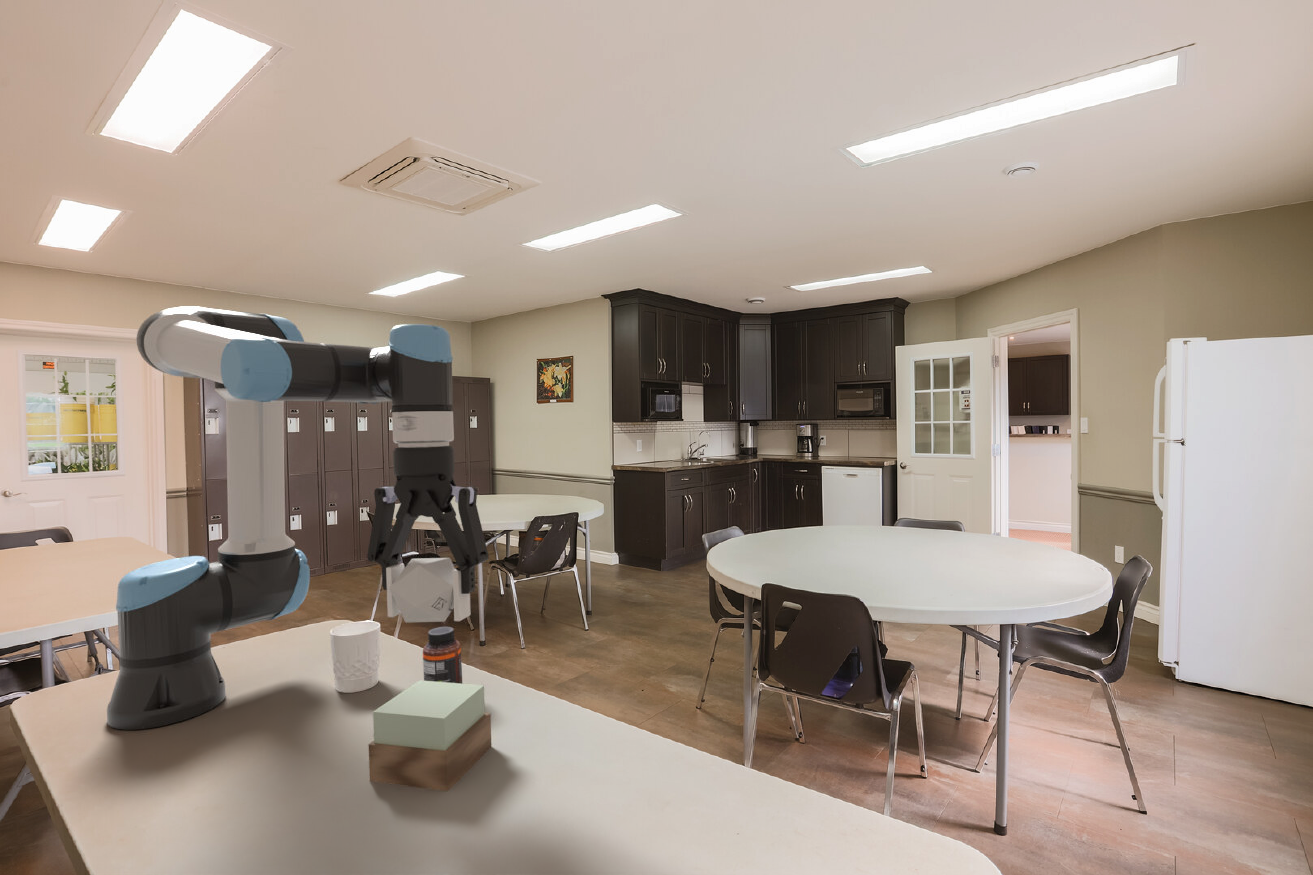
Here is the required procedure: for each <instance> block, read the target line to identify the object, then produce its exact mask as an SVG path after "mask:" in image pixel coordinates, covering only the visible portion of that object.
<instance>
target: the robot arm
mask: <svg viewBox="0 0 1313 875" xmlns="http://www.w3.org/2000/svg"><path fill="white" fill-rule="evenodd" d="M388 338H389V339H388V343H387V344H388V345H387V346H378V347H377V346H376V347H375V346H374V347H372V346H371V347H370V346H360V345H359V346H357V345H346V344H345V345H344V344H335V343H334V344H333V343H317V342H310V341H309V342H308V341H305V339H304V337H303V335H302V333H301V331H300V330H299V329H298V327H297V325H295V323H294V322H292V321H291V320H290V319H288V318H285V317H281V316H276V315H275V316H274V315H270V314H267V313H262V312H261V313H258V312H256V313H255V312H247V311H238V310H227V309H218V308H217V309H216V308H208V307H203V306H192V305H191V306H177V307H176V306H175V307H170V308H169V307H168V308H165V309H163V310H162V309H161V310H160V311H156V312H154V313H153V314H151V315H150V316H148V317H147V318H146V319H145V320H144V321H143V322H142V323H141V324H140V326H139V328H138V330H137V333H136V340H135V341H136V346H137V351H138V352H139V354H140V356H141V358H142V359H143V360H144V361H145V362H146V363H147V365H149V366H151V367H152V368H154V370H157V371H159V372H162V373H164V374H168V375H171V376H174V377H180V378H181V377H184V378H190V379H192V378H193V379H203V380H209V381H213V382H214V391H215V392H216V393H217V394H218V395H220V396H221V397H222V398H223V399H224V401H225V423H226V424H225V425H226V427H225V428H226V429H225V430H226V434H225V435H226V475H227V477H226V479H227V481H226V482H227V529H228V530H227V533H228V534H227V535H228V537H227V539H226V540H225V541H224V542H223V543H222V544H221V545H220V546H219V547H218V548H217V561H213V562H209V560H208V559H207V557H205V556H201V555H190V556H182V557H179V558H178V557H177V558H170V559H165V560H162V561H158V562H154V563H153V562H152V563H149V564H147V565H144V566H141V567H139V568H136V569H133V570H132V571H129V572H128V573H126V574H125V575H123V577H122V578H121V579H120V580H119V582H118V585H117V595H116V604H115V610H116V611H117V630H118V649H119V650H118V652H119V672H118V675H117V677H116V678H117V679H116V681H115V684H114V688H113V690H112V695H111V698H110V700H109V702H108V704H107V707H106V718H107V719H106V721H107V723H106V724H107V725H108V726H109V727H110V728H113V729H116V730H124V731H127V730H128V731H131V730H133V731H134V730H143V729H144V730H145V729H150V728H151V729H152V728H153V729H154V728H157V727H163V726H167V725H171V724H175V723H179V722H182V721H185V720H189V719H191V718H195V717H196V716H200V715H202V714H204V713H206V712H208V711H211V710H212V709H214V708H216V707H217V706H218V705H220V704H221V703H222V702H223V701H224V700H225V698H226V683H225V682H226V681H225V679H224V678H223V677H222V674H221V672H220V669H219V667H218V664H217V662H216V660H215V658H214V655H213V654H212V647H211V644H212V643H211V637H212V634H215V633H218V632H223V631H226V630H230V629H234V628H238V627H239V628H240V627H243V626H247V625H251V624H252V625H253V624H254V623H259V622H264V621H271V620H275V619H277V618H278V617H282V616H286V615H290V614H291V613H294V612H295V611H296V610H297V609H299V607H300V606H301V605H302V604H303V603H304V601H305V599H306V597H307V594H308V591H309V589H310V588H309V587H310V579H311V578H310V577H311V576H310V575H311V572H310V571H311V570H310V565H309V564H308V558H307V556H306V554H305V553H304V552H303V551H302V550H301V549H297V548H296V541H294V540H293V539H292V538H291V537H289V536H288V535H287V534H286V500H285V499H286V498H285V495H286V493H285V488H286V487H285V484H286V483H285V480H286V479H285V435H284V434H285V430H284V429H285V426H284V425H285V421H284V420H285V419H284V418H285V416H284V415H285V414H284V410H285V408H284V406H285V404H284V403H285V402H334V403H335V402H337V403H338V402H339V403H341V402H342V403H358V404H363V405H364V404H372V405H374V404H379V403H385V402H386V403H387V402H391V412H392V414H391V417H392V442H394V444H398V445H397V446H398V447H395V448H394V450H392V461H393V474H394V475H395V477H396V482H395V484H394V486H391V485H390V486H389V485H388V486H382V487H377V488H375V489H374V492H373V496H374V500H375V501H374V502H375V509H374V515H373V521H372V527H371V532H370V538H369V544H368V550H367V554H366V555H367V556H366V558H367V560H368V561H369V562H375V563H378V564H379V565H380V567H381V586H382V590H383V591H386V602H387V603H386V604H387V608H386V609H387V617H388V618H394V617H396V616H398V615H402V614H401V612H400V610H399V608H398V606H397V604H396V602H395V600H394V597H393V595H392V593H391V591H390V589H389V588H390V586H391V585H392V584H393V583H394V581H395V580H396V579H397V577H398V576H399V575H400V573H401V572H402V571H403V570H404V568H405V564H404V563H399V562H401V561H402V559H401V555H402V553H403V550H404V548H405V545H406V543H407V540H408V539H409V536H410V534H411V531H412V529H413V527H414V524H415V521H416V520H417V519H418V518H419V517H420V516H421V517H426V518H432V520H433V522H434V523H435V524H437V525H438V527H439V529H440V531H441V533H442V535H443V537H444V540H445V542H446V544H447V546H448V548H449V550H450V552H451V554H452V556H453V558H454V560H455V563H456V565H457V567H456V568H455V567H454V568H455V570H453V596H454V608H453V616H454V617H453V621H454V622H461V621H462V620H464V619H466V618H468V617H469V616H471V615H472V614H471V594H472V592H474V591H475V588H476V574H475V572H476V566H478V565H480V564H482V563H485V562H487V561H488V560H489V552H488V548H487V543H486V540H485V536H484V532H483V527H482V524H481V519H480V515H479V510H478V506H477V497H478V490H477V489H478V488H477V487H475V486H468V487H463V486H457V484H456V482H455V480H454V473H455V470H456V469H455V466H456V465H455V464H456V462H455V448H453V446H452V445H450V442H453V441H454V440H455V433H454V432H455V428H454V427H455V426H454V411H453V406H454V404H453V401H454V400H453V399H454V398H453V359H454V358H453V356H452V347H451V338H450V333H449V331H448V330H447V329H445V328H444V327H443V326H438V325H434V324H433V325H432V324H431V325H430V324H422V323H415V324H414V323H409V324H408V323H407V324H396V325H395V326H393V327H392V328H391V330H390V331H389V337H388ZM454 498H455V499H454ZM397 500H399V503H400V505H399V507H398V509H397V511H396V510H395V509H396V501H397ZM452 500H454V501H455V502H456V503H457V507H458V508H457V509H458V513H459V518H460V522H461V525H462V528H461V526H460V523H459V521H458V520H457V517H456V516H457V513H456V510H455V509H454V506H453V504H452ZM395 511H396V514H395ZM394 515H395V519H396V520H395V522H394V524H393V520H394ZM392 526H393V527H392Z"/></svg>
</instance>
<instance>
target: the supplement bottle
mask: <svg viewBox="0 0 1313 875" xmlns="http://www.w3.org/2000/svg"><path fill="white" fill-rule="evenodd" d="M427 636H428V637H427V639H428V642H427V643H426V644H425V645H424V647H423V649H422V663H423V664H422V665H423V666H422V668H423V681H434V682H447V683H460V684H463V667H462V666H463V665H462V664H463V663H462V647H461V643H460V641H459V640H457V639H456V638H455V630H454V628H453V627H451V626H439V627H435V628H432V629H430V630H428V635H427Z"/></svg>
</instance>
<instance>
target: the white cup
mask: <svg viewBox="0 0 1313 875" xmlns="http://www.w3.org/2000/svg"><path fill="white" fill-rule="evenodd" d="M329 636H330V650H331V661H332V669H333V675H334V688H335V690H336V691H337V692H338V693H339V692H340V693H345V694H347V693H350V694H351V693H358V692H363V691H367V690H369V689H371V688H373V687H375V686H376V685H377V684H378V682H379V672H380V671H379V669H380V662H381V661H380V656H381V623H380V622H378V621H373V620H361V621H353V622H346V623H343V624H340V625H337V626H335V627H333V628H332V629H330V630H329Z"/></svg>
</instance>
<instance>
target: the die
mask: <svg viewBox="0 0 1313 875" xmlns="http://www.w3.org/2000/svg"><path fill="white" fill-rule="evenodd" d="M453 570H455V566H454V563H453V561H452V559H451V558H450V557H429V558H427V557H426V558H425V557H424V558H411V559H410V561H409V562H408V563H407V564H406V566H404V570H403V571H402V572H401V573H400V575H399V576H398V577H397V579H396V580H395V581H394V583H393V584H392V585H391V586H390V588H389V589H390V591H391V593H392V595H393V597H394V600H395V602H396V604H397V606H398V608H399V610H400V612H401V614H400V615H401V616H402V619H403V620H404V622H405V623H429V622H430V623H434V622H435V623H437V622H438V623H439V622H446V620H447V618H448V617H449V616H450V614H451V613H452V611H453V610H454V596H453Z"/></svg>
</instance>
